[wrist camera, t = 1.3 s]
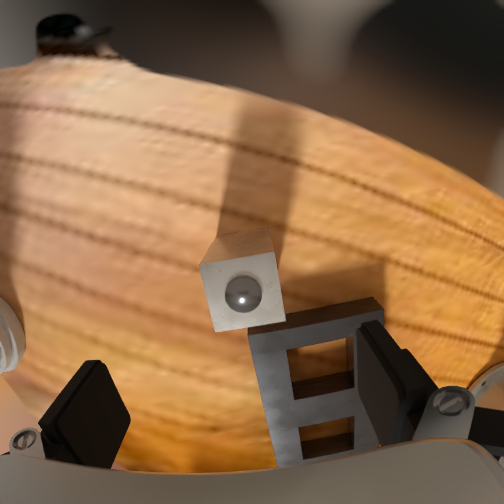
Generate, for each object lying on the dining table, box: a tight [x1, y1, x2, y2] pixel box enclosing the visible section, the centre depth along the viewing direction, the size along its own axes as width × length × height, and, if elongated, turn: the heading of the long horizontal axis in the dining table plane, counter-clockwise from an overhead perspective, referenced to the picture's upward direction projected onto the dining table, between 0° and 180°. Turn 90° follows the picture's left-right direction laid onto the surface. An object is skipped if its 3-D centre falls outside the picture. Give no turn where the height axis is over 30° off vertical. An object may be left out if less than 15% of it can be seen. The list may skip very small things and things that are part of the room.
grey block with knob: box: [199, 227, 286, 332], centre depth 23 cm, size 4×4×9 cm
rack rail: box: [248, 297, 384, 467], centre depth 31 cm, size 12×30×3 cm, turn 10°
